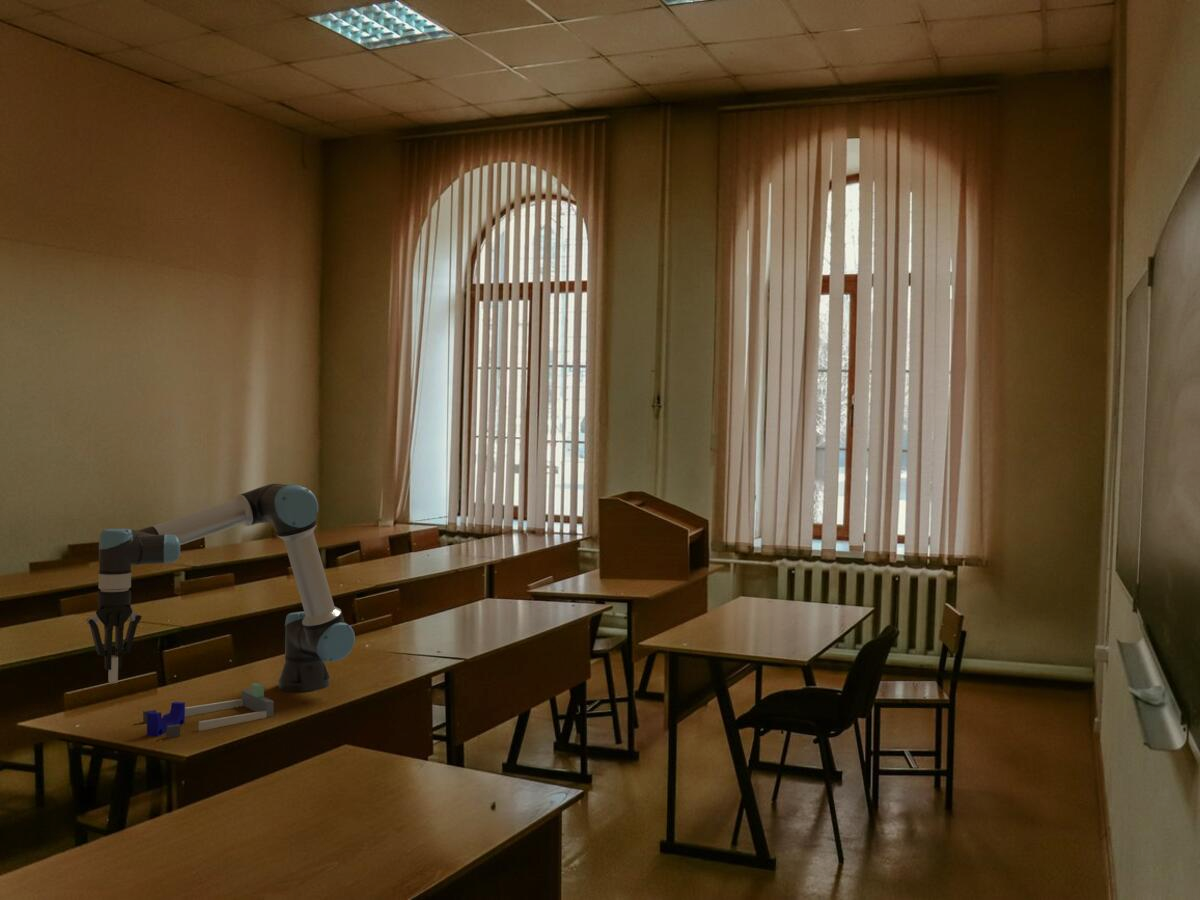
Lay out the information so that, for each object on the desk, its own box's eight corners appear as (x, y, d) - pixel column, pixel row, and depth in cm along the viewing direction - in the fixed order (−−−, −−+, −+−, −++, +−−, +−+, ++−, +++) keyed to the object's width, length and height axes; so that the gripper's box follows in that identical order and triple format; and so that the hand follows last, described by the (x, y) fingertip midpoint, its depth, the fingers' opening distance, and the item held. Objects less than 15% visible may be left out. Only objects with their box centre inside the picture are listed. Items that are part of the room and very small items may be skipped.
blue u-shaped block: (169, 723, 276) (169, 701, 276) (184, 724, 275) (184, 702, 275) (141, 736, 264) (141, 712, 264) (157, 737, 263) (157, 714, 263)
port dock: (248, 706, 294) (248, 678, 294) (273, 719, 281) (273, 690, 281) (176, 717, 281) (177, 688, 281) (199, 732, 268) (200, 701, 268)
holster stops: (154, 720, 278) (154, 709, 278) (179, 736, 263) (180, 725, 263) (143, 722, 276) (143, 711, 276) (167, 738, 261) (168, 727, 261)
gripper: (136, 585, 269) (135, 675, 269) (82, 589, 260) (81, 682, 260) (146, 589, 263) (144, 681, 263) (91, 593, 254) (89, 688, 255)
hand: (113, 681), depth 262 cm, fingers closed
